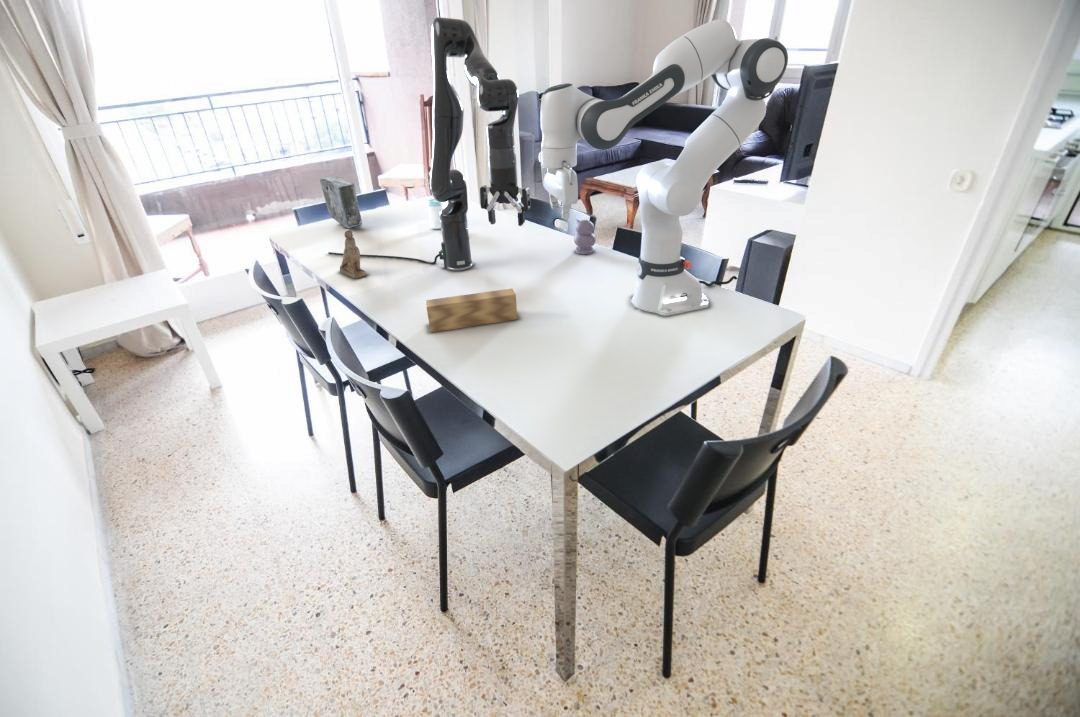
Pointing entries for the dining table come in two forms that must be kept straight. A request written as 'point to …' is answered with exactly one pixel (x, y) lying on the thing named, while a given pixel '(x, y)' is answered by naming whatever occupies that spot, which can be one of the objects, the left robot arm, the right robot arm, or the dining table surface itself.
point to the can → (434, 213)
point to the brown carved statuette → (351, 258)
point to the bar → (471, 310)
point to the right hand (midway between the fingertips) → (559, 213)
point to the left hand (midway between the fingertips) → (506, 224)
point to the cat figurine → (584, 236)
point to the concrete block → (341, 201)
